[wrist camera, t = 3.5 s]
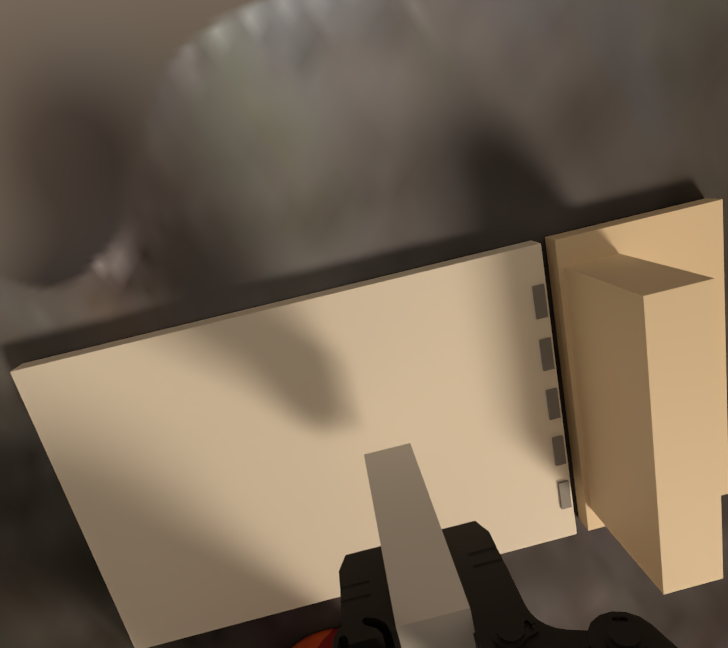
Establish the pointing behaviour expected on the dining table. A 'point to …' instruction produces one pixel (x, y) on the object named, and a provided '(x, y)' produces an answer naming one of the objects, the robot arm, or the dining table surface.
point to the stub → (647, 383)
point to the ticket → (304, 436)
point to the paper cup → (318, 639)
